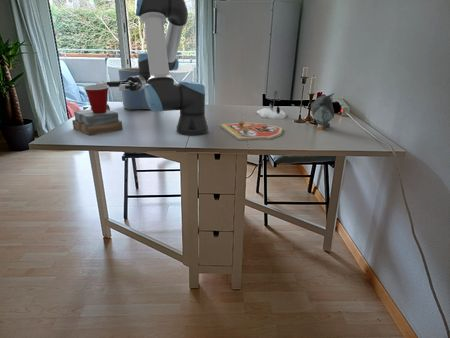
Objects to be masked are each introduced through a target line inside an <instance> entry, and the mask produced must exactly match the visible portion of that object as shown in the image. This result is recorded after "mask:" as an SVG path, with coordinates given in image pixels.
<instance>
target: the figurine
mask: <svg viewBox="0 0 450 338" xmlns="http://www.w3.org/2000/svg"><path fill="white" fill-rule="evenodd" d="M273 91H274V94H273V97H274V98H273V102H269V107H267V108H266V107H263V108H261V109H259V110H257V111H256V114H258V115H259V116H260V117H261V118H264V119H266V118H269V119H272V120H275V119H276V120H277V119H279V120H282V119H285V118H286V117H287V113H286V112H285V111H283V110H282V109H281V108H280V106H279V105H277V106H276V108H275V107H274V105H275V101H277V102H278V101H281V96H278V94H279V89H275V90H273ZM277 96H278V97H277ZM267 100H270V101H272V99H270V98H267Z"/></svg>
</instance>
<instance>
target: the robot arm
mask: <svg viewBox="0 0 450 338" xmlns="http://www.w3.org/2000/svg"><path fill="white" fill-rule="evenodd" d="M134 14H135V17H138V18H139V22H140V23H141V24H143V28H144V29H143V30H144V36H145V44H146V52H145V51H144V52H142V51H140V52H138V54H137V63H138V64H137V65H138V68H139V76H131V77H128V78H127V80H124V81H120V80H110V81H109V80H108V81H102V82H96V83H95V85H99V84H102V85H108V86H109V87H108V88H119V91H120V92H121V91H124V90H130V91H137V90H139V91H140V90H142V89H144V90H145V97H146V101H147V104H148V106H149V108H150V109H149V110H151V112H152V111H154V112H169V111H179V117H178V122H177V125H176V132H177V133H178V134H180V135H185V136H201V135H205V134H208V132H209V126H208V123H207V119H206V110H205V109H206V88H205V85H204V84H203V83H201V82H196V81H191V80H190V81H189V80H182V79H181V80H179V81H178V83H175V80H174V78H173V77H172V76H171V73H170V72H172V71H177V70H179V65H180V64H179V59H178V57H177V54H178V51H179V47H180V42H181V39H182V35H183V30H184V26H185V25H186V24H187V21H188V17H189V16H188V15H189V10H188V7H187V3H186V1H185V0H134ZM167 21H168V22H167ZM166 22H167V27H166V32H165V25H164V24H165V23H166ZM121 82H122V83H121Z"/></svg>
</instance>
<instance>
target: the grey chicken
mask: <svg viewBox="0 0 450 338" xmlns="http://www.w3.org/2000/svg"><path fill="white" fill-rule="evenodd" d="M335 94H336V93H331V94H328V95H325V94H323V95H320V96H318V97H317V98H316V99H315V100H314V101H312V102H311V103H310V110H311V113H312V118H313V119H314V120H315V122H316V123H317V124H316V123H314V125H316V127H317V128H316V129H317V130H319V131H324V129H325V128H329V127H330V125H331V123H329V122H330V121H331V120H332V119H334V117H335V109H334V107H333V106H334V105H333V101H332V99H331V98H332V97H333V95H335Z"/></svg>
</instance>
